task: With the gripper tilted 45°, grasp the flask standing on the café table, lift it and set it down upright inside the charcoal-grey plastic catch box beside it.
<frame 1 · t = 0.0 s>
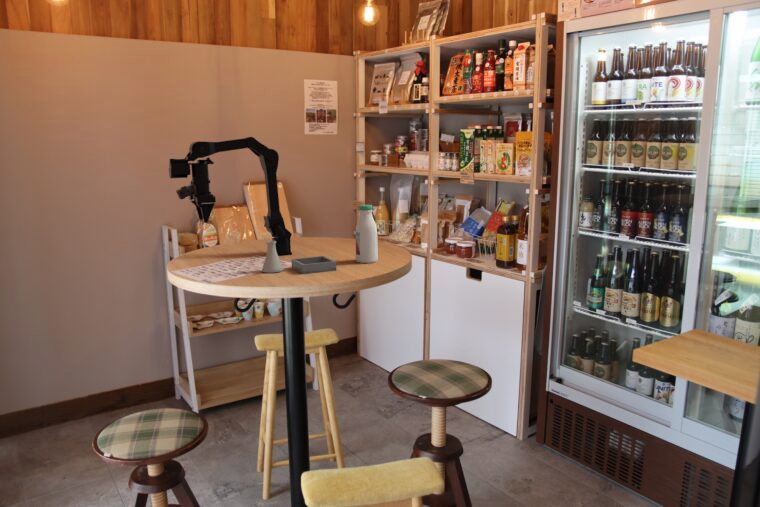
hand: (203, 221, 219), 15 cm above the table, tool pointing down, fingers open, 9 cm apart
catch box: (313, 269, 205), on the table
flask: (272, 271, 203), on the table
milk bottle: (366, 261, 216), on the table
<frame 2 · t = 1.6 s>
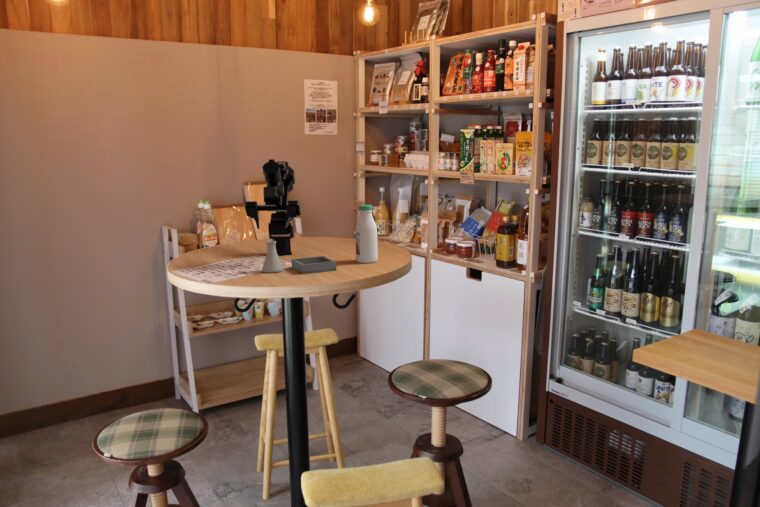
hand: (271, 228, 208), 13 cm above the table, tool tilted 45°, fingers open, 9 cm apart
nothing on the table moved.
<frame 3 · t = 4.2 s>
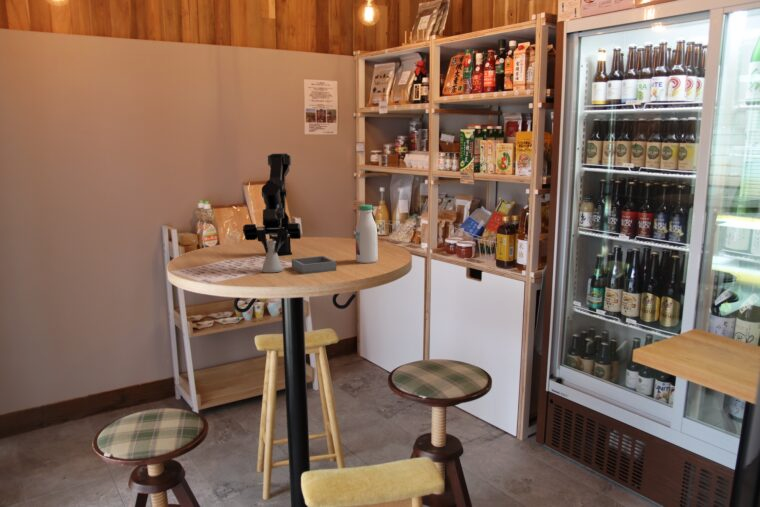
hand: (271, 252, 200), 7 cm above the table, tool tilted 45°, fingers closed on flask, 3 cm apart
flask: (272, 271, 203), on the table, touching gripper
everything else where it was.
when the fingers open (9 cm above the table, at t = 8.0 s): flask drops 1 cm, resting on catch box.
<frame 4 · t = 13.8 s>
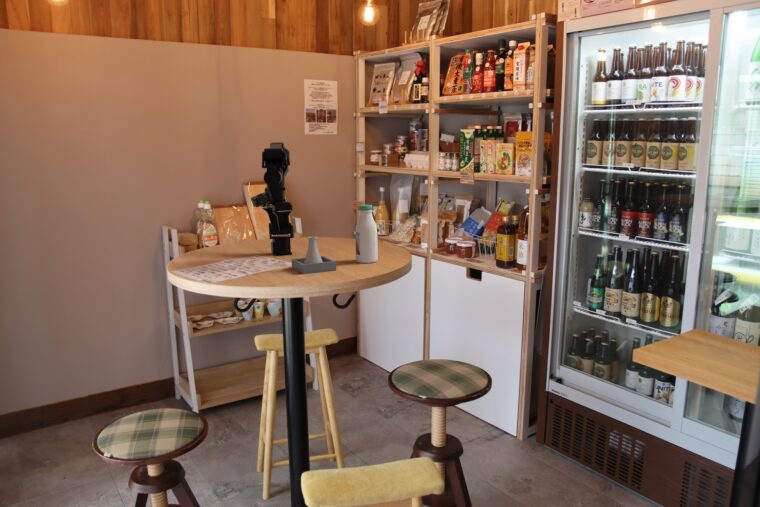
hand: (277, 229, 215), 12 cm above the table, tool pointing down, fingers open, 9 cm apart
flask: (313, 267, 205), point 1 cm above the table, touching catch box
everything else where it was.
at the end: flask 0.2 cm off-centre on the catch box, point 0.6 cm above the catch box's base; flask tilted 0°; the gripper is holding nothing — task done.
